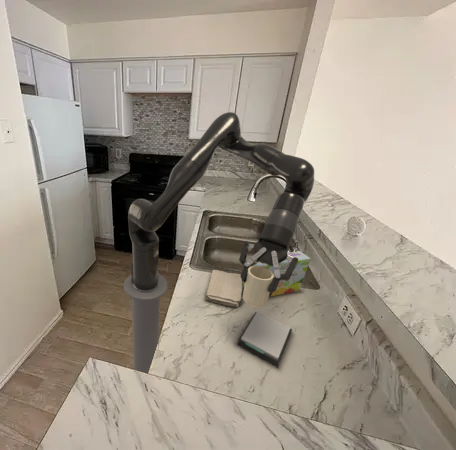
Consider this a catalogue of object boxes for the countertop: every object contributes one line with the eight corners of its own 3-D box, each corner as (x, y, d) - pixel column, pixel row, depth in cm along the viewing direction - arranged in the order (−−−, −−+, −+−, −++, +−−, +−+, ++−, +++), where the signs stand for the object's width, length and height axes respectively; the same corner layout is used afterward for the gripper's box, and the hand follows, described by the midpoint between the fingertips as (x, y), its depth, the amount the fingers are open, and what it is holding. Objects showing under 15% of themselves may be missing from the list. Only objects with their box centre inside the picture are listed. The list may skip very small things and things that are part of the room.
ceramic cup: (239, 300, 68) (244, 273, 64) (247, 288, 73) (253, 262, 69) (262, 311, 65) (269, 283, 61) (269, 298, 69) (277, 271, 65)
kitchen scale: (237, 345, 73) (238, 338, 72) (254, 316, 83) (256, 309, 82) (277, 367, 67) (279, 360, 66) (290, 333, 77) (293, 327, 76)
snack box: (250, 302, 89) (258, 266, 82) (241, 291, 94) (248, 257, 87) (300, 291, 94) (311, 257, 88) (289, 282, 99) (299, 249, 92)
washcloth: (204, 301, 89) (205, 295, 87) (211, 272, 104) (212, 266, 103) (240, 310, 85) (241, 303, 84) (241, 278, 101) (242, 272, 99)
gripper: (308, 242, 67) (286, 301, 64) (254, 227, 75) (232, 278, 72) (309, 232, 61) (285, 296, 58) (250, 216, 69) (226, 272, 66)
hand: (256, 286), depth 65 cm, fingers closed on ceramic cup, 6 cm apart
